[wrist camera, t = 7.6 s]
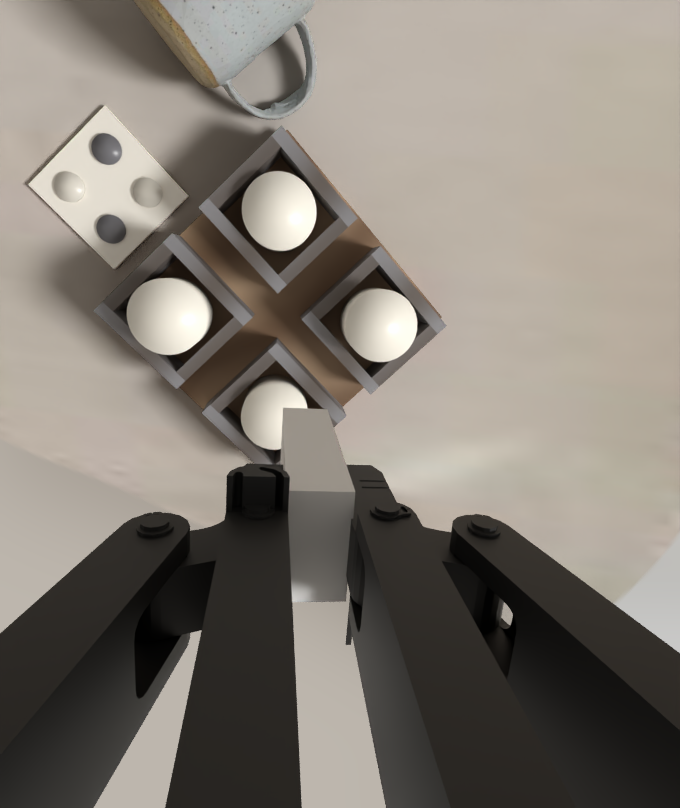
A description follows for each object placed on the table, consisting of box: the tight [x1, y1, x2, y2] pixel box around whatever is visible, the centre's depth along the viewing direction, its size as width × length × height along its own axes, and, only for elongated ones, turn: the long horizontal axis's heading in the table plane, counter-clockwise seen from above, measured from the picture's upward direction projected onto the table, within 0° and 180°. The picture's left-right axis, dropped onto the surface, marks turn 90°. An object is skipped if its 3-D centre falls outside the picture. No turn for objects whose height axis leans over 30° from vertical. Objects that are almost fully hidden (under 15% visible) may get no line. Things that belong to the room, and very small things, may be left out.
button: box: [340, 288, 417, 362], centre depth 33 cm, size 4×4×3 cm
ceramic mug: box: [134, 0, 317, 120], centre depth 28 cm, size 11×8×8 cm
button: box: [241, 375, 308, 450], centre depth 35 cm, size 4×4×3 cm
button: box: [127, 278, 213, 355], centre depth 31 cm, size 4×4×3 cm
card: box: [28, 106, 189, 269], centre depth 33 cm, size 7×7×1 cm
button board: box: [94, 126, 446, 464], centre depth 34 cm, size 16×17×4 cm
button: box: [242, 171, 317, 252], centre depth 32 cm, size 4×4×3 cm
